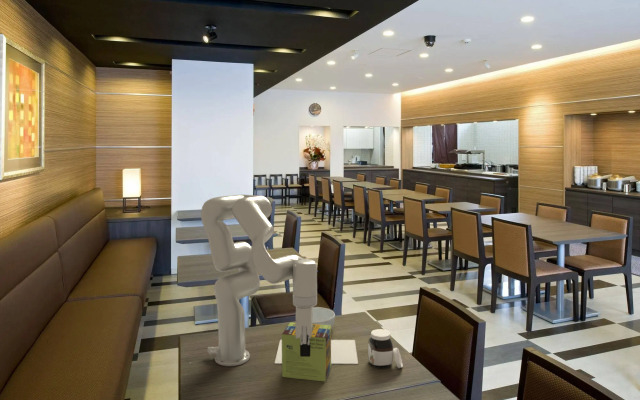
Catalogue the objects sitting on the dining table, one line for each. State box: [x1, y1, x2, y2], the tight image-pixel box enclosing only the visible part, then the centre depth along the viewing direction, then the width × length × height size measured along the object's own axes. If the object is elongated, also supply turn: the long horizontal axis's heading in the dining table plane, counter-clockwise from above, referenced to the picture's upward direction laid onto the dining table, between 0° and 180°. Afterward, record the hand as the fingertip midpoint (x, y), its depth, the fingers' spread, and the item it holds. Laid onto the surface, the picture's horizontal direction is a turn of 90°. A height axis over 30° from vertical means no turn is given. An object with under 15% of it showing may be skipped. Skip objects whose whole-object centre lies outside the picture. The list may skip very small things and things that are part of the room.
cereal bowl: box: [313, 306, 336, 328], centre depth 195 cm, size 17×17×7 cm
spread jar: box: [367, 328, 404, 369], centre depth 164 cm, size 12×11×12 cm
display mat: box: [274, 339, 359, 365], centre depth 175 cm, size 30×20×1 cm, turn 89°
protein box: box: [281, 321, 332, 382], centre depth 158 cm, size 10×15×16 cm
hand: (305, 355), depth 145 cm, fingers closed
